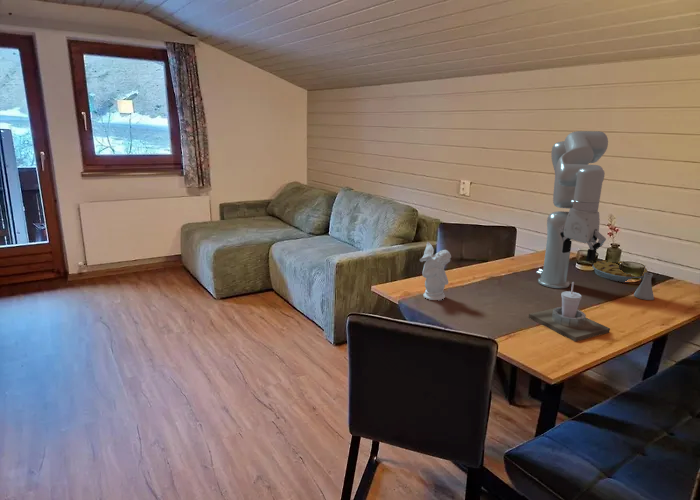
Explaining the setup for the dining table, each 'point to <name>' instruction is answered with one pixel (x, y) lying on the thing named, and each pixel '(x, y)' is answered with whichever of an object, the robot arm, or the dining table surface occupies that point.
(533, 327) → the dining table surface
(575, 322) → the collar
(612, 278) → the pie
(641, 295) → the flask
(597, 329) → the board
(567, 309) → the smoothie
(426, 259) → the cherub figurine
